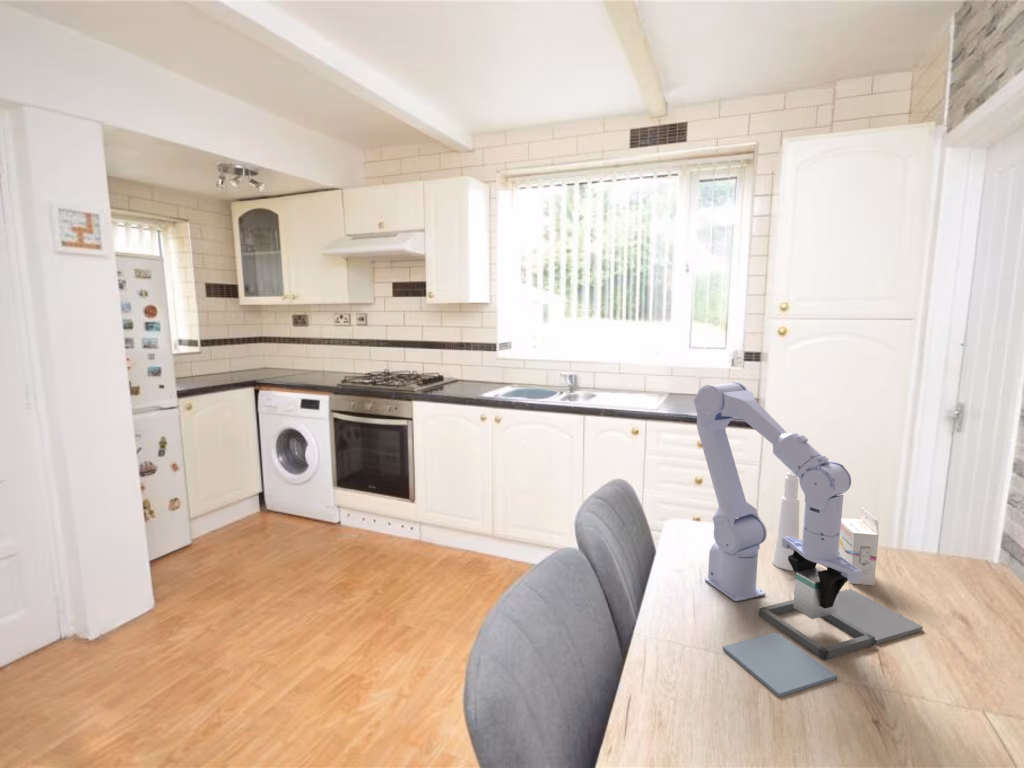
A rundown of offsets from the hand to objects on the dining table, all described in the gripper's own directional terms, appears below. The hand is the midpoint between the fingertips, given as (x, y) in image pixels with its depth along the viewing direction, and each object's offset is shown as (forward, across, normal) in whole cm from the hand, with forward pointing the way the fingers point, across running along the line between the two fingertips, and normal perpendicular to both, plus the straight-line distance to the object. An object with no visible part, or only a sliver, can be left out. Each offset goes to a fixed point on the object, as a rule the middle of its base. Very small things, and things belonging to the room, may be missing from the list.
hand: (815, 600), depth 94 cm
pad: (+6, -5, +14) cm, 16 cm away
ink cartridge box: (+6, +12, -26) cm, 29 cm away
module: (+2, 0, 0) cm, 2 cm away
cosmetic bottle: (+6, +21, -16) cm, 27 cm away
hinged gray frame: (+6, 0, -6) cm, 9 cm away
